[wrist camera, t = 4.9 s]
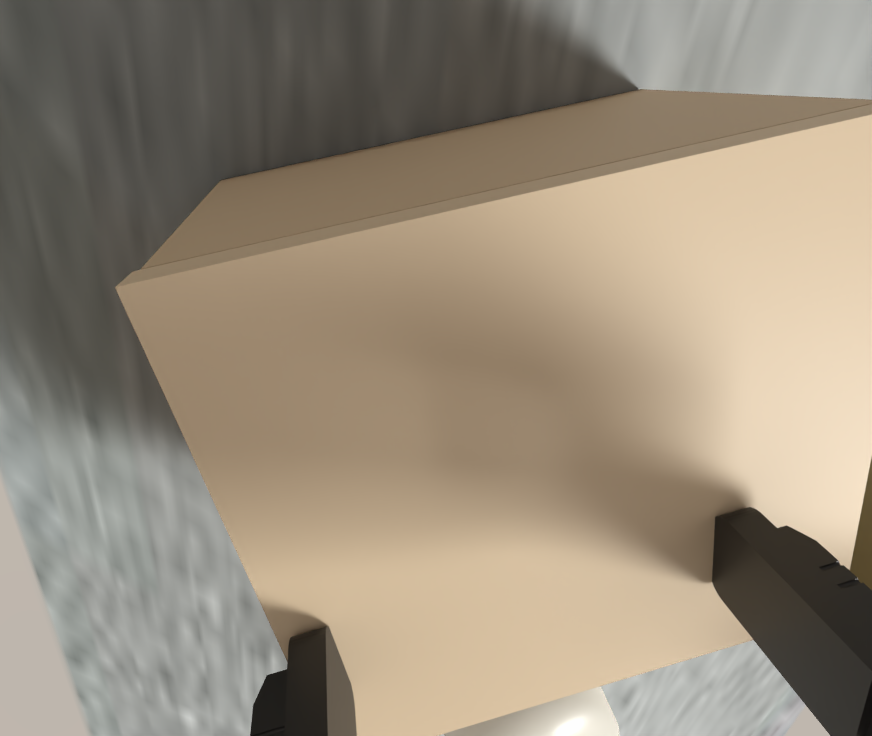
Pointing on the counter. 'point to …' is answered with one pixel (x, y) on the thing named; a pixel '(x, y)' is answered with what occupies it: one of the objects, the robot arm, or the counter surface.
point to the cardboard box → (471, 163)
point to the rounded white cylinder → (553, 719)
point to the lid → (532, 412)
